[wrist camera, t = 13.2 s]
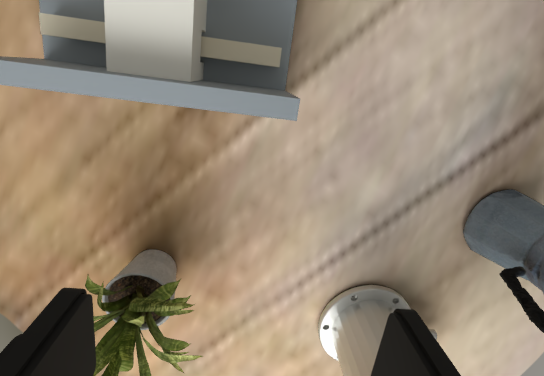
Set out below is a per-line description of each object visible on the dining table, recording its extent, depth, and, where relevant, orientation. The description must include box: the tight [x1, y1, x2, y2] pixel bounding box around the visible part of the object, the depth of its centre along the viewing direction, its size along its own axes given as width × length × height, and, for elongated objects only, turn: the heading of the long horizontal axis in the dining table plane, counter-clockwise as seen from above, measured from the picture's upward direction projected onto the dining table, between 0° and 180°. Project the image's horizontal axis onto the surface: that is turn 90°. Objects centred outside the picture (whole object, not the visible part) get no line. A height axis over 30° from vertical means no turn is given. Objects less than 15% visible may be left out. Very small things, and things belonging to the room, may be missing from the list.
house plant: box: [85, 249, 204, 376], centre depth 32 cm, size 14×14×16 cm
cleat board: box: [0, 0, 300, 121], centre depth 25 cm, size 22×14×12 cm, turn 83°
